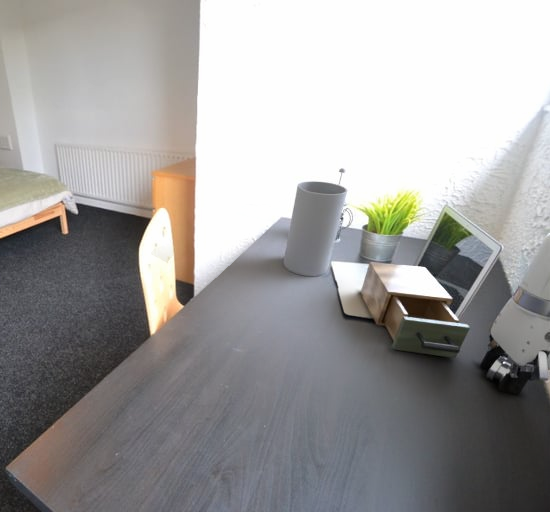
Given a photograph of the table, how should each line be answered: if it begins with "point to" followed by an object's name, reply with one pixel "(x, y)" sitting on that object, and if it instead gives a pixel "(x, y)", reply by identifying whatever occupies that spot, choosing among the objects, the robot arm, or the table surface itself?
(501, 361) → the grooved metal pulley
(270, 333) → the table surface
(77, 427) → the table surface
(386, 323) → the drawer
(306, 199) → the cylinder vase
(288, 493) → the table surface
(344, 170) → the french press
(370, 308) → the cabinet
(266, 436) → the table surface
